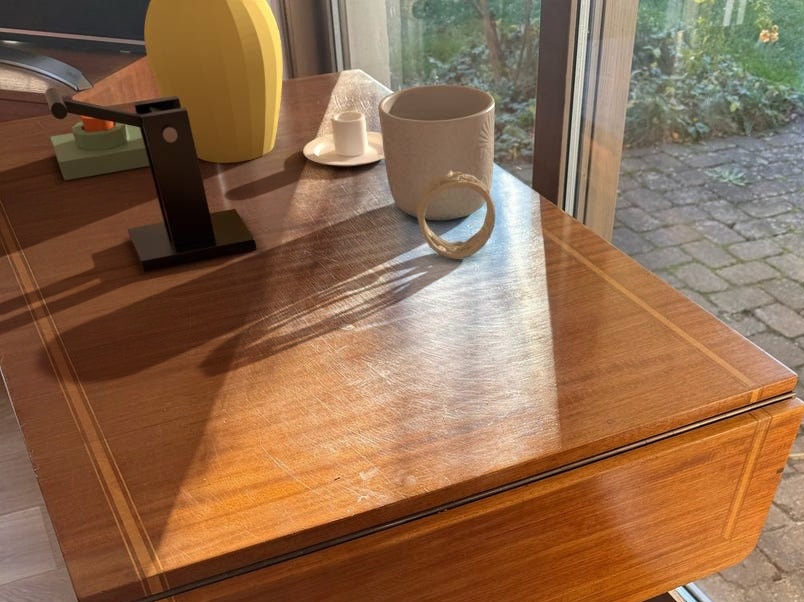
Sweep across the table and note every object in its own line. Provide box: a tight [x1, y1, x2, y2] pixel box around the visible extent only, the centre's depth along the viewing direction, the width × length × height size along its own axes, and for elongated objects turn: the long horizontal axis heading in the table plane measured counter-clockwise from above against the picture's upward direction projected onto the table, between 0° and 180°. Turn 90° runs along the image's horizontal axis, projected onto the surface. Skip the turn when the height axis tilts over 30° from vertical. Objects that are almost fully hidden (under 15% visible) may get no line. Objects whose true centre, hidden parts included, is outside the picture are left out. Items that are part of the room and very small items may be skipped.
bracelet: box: [416, 171, 496, 260], centre depth 100 cm, size 4×8×8 cm, turn 96°
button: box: [80, 115, 114, 132], centre depth 122 cm, size 4×4×2 cm
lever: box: [44, 87, 165, 128], centre depth 96 cm, size 12×5×2 cm, turn 113°
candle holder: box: [302, 110, 385, 167], centre depth 123 cm, size 12×12×4 cm
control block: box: [49, 121, 150, 181], centre depth 124 cm, size 12×10×4 cm
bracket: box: [126, 96, 258, 273], centre depth 102 cm, size 12×9×14 cm
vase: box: [143, 0, 283, 164], centre depth 117 cm, size 16×16×28 cm
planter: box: [377, 84, 496, 221], centre depth 108 cm, size 12×12×11 cm
